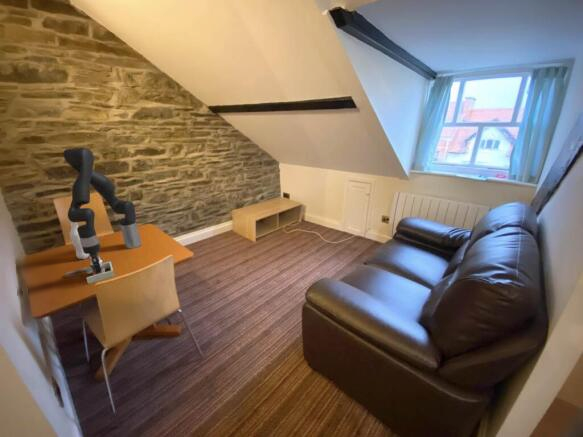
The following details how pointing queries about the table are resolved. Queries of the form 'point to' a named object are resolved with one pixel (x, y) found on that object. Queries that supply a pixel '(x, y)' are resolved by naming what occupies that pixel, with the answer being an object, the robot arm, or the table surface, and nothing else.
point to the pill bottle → (100, 267)
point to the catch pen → (100, 276)
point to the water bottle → (77, 241)
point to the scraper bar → (76, 272)
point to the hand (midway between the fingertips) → (98, 269)
